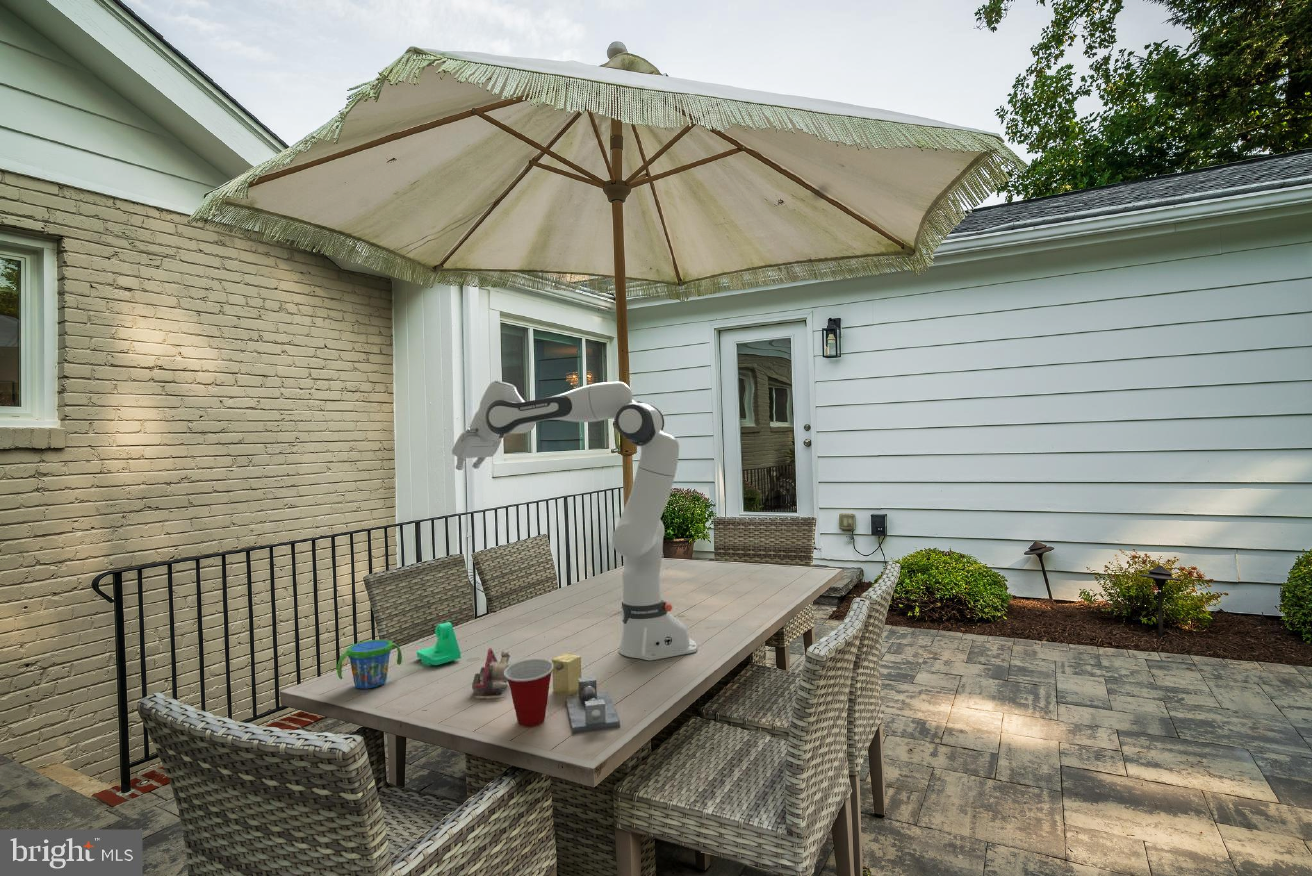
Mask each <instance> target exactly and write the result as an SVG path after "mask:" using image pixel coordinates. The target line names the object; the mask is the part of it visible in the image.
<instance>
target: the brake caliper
mask: <svg viewBox="0 0 1312 876" xmlns="http://www.w3.org/2000/svg"><path fill="white" fill-rule="evenodd" d="M500 655H501V656H500V657H501V658H500V661H499V662H498V659H497V656H496V654H495V653H494V651H493V649H492V648H491V647H489V648H488V650H487V656H486V660H485V665H484V666H482V667H481V668H480V670H479V673H478V672H475V674H474V677H473V681H472V685H471V689H472V691H473V692H474V693H475V694H476V696H475V698H477V699H482V698H483V699H497V698H498V699H500V698H506V697H507V695H501V694H502V693H503V692H504V690H505V689H506V687H507V686H508V683H507V682H508V681H507V678H506V677H505V676H504V670H505V669H506V668H507V667H508V666H510V664H509V662H510V661H509V660H510V657H511V656H510V654H509V651H507V652H505V651H504V650H501V654H500Z"/></svg>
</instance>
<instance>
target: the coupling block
mask: <svg viewBox="0 0 1312 876" xmlns="http://www.w3.org/2000/svg"><path fill="white" fill-rule="evenodd" d="M551 662H552V663H553V665H554V668H553V670H552V673H551V676H552V693H554V694H555V693H556V694H559V695H564V696H572V694H575V693H577V692H579V691H578V678H583V677H582V656H581V655H577V654H572V653H566V652H564V653H562V654H561V655H558V656H556V657H554V658H551Z"/></svg>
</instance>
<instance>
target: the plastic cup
mask: <svg viewBox="0 0 1312 876" xmlns="http://www.w3.org/2000/svg"><path fill="white" fill-rule="evenodd" d="M553 668H554V665H553V663H552V660H551V661H550V660H549V659H545V658H529V659H522V660H518V661H517V662H513V663H512V664H509V666H508V667H507V668H506V669H505V670H504V676H505V677H506V678H507V682H508V683H507V684H508V687H509V689H510V690H509V691H510V694H511V699H512V704H513V708H514V710H515V716H516V720H517V723H518V725H519V726H521V727H524V728H531V727H536V726H539V725H542V724H543V723H544V721H545V718H546V712H547V706H548V698H549V690H550V683H551V679H552V678H551V676H552V670H553Z"/></svg>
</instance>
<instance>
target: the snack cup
mask: <svg viewBox="0 0 1312 876" xmlns="http://www.w3.org/2000/svg"><path fill="white" fill-rule="evenodd" d="M392 647H395V648H396V649H397V658H396V664H397V665H399V666H400V665H402V662H403V655H402V650H401V648H400V647H399V645H397V644H396V643H393V642H392V641H390V640H388V639H387V640H386V639H372V640H371V639H370V640H364V641H361V642H357V643H354V644H352V645H350V646H348V647H347V649H346V651H345V652H344V653H343V654H342V655H341V656H340V658H339V659H338V661H337V666H336V672H337V676H338V679H340V680H343V676H342V673H343V670H342V668H343V661H344V660H345V659H346V658H349V660H350V666H351V667H350V668H351V673H352V678H353V683H354V687H355V688H356V689H362V690H363V689H364V690H366V689H367V690H369V689H373V688H375V687H379V686H384V683H386V682H387V678H388V672H389V662H390V657H391V656H390V655H391V651H392Z"/></svg>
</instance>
